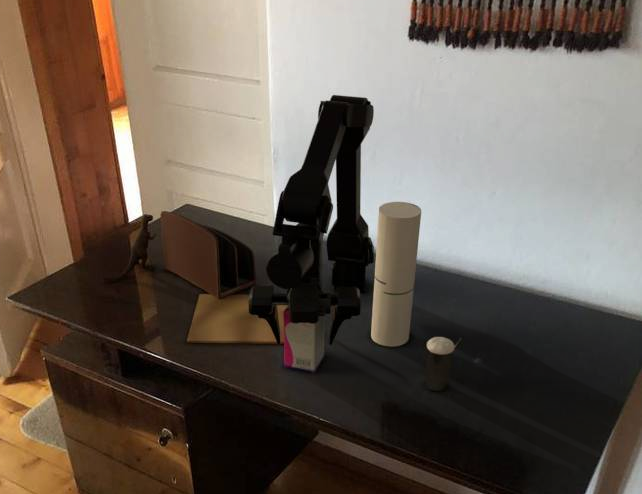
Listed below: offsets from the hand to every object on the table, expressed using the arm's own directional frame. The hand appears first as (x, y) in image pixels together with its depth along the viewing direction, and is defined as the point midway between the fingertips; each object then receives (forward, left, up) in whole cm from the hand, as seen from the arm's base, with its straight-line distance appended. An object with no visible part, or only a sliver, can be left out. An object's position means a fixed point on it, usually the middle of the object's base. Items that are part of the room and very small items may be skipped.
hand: (304, 343), depth 129 cm
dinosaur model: (+38, -34, -4) cm, 51 cm away
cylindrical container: (-16, -9, -4) cm, 19 cm away
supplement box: (0, 0, -4) cm, 4 cm away
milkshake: (-23, +7, -4) cm, 24 cm away
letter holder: (+21, -32, -4) cm, 39 cm away
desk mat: (+10, -15, -4) cm, 19 cm away
